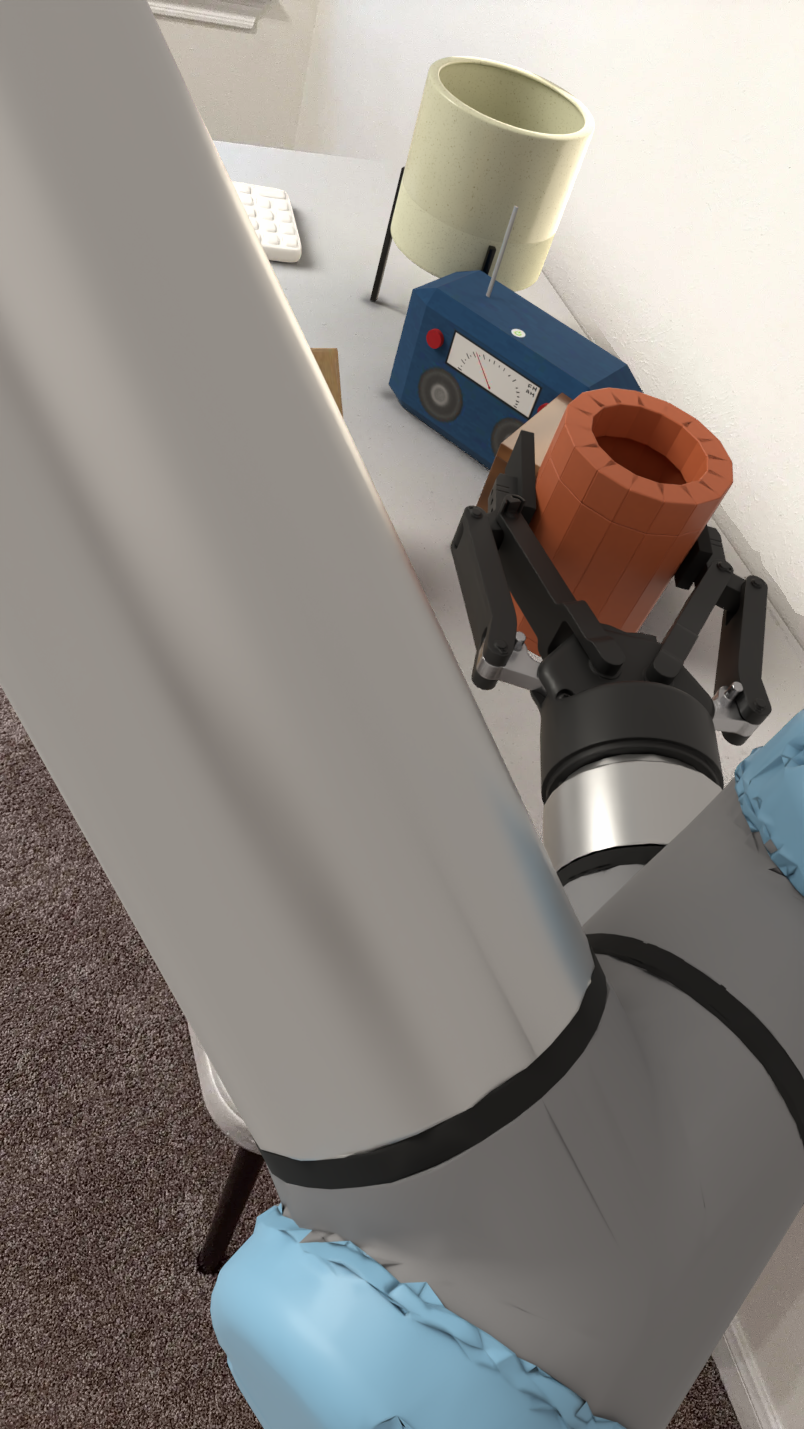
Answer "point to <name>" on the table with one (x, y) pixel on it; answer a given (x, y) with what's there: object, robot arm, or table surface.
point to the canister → (624, 501)
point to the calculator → (271, 220)
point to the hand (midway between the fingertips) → (600, 472)
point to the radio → (490, 360)
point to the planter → (486, 171)
